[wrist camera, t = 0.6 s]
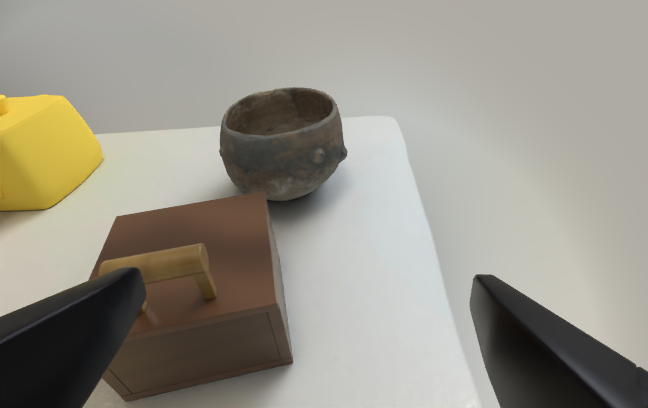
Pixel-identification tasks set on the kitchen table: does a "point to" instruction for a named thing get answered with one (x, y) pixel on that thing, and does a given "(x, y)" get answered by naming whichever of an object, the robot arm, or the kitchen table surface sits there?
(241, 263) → the lid
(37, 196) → the teapot
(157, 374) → the chest
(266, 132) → the bowl
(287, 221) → the kitchen table surface
